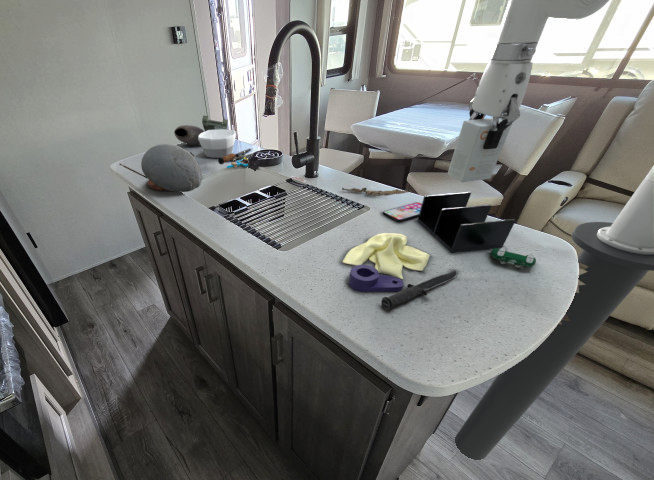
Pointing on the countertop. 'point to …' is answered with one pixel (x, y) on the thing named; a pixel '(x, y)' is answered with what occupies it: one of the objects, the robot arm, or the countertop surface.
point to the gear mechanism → (239, 162)
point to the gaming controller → (513, 257)
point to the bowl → (217, 142)
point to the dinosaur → (242, 156)
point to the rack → (462, 223)
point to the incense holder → (149, 181)
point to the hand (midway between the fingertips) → (479, 143)
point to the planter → (188, 134)
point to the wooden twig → (377, 192)
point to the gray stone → (171, 168)
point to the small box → (475, 151)
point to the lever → (373, 280)
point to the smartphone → (404, 212)
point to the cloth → (388, 254)
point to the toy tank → (213, 124)
